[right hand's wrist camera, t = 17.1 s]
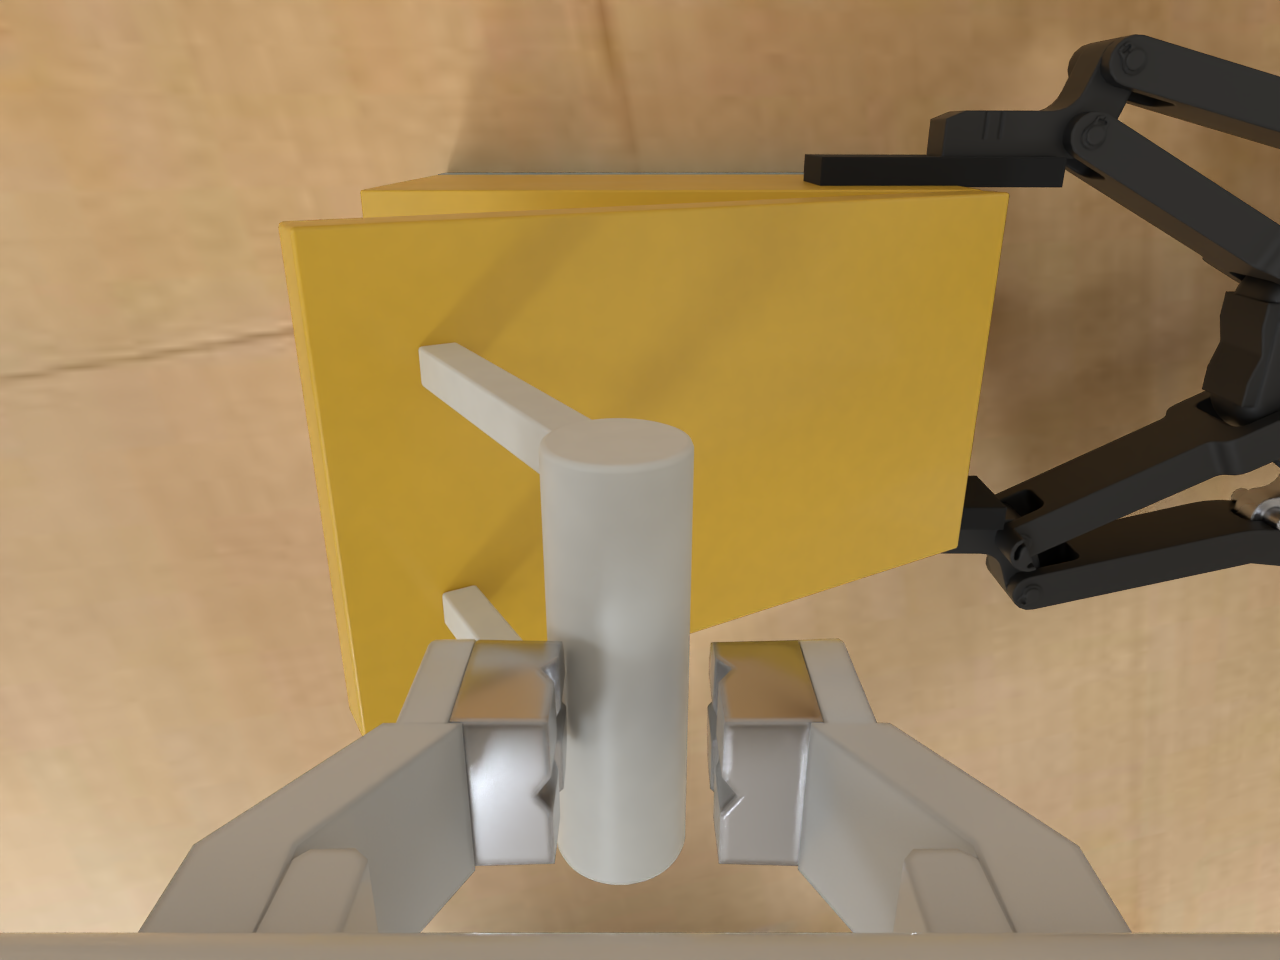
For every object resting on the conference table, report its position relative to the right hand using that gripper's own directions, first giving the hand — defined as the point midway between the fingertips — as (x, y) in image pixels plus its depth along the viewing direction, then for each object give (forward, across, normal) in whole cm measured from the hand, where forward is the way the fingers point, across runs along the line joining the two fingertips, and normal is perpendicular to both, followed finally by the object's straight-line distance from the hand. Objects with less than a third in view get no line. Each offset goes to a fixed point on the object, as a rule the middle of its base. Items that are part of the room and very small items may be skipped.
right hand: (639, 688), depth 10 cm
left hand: (+18, +5, 0) cm, 18 cm away
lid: (+10, +1, 0) cm, 10 cm away
